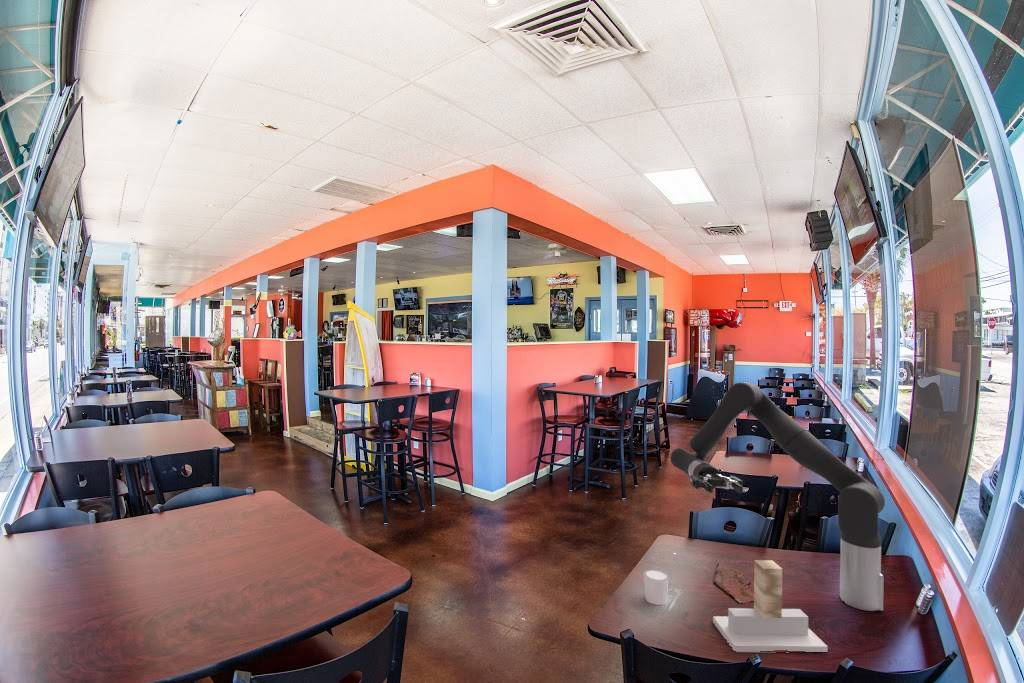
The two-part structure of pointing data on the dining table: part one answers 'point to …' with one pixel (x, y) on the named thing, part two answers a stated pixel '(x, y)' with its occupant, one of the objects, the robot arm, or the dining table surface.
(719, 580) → the wooden fragment
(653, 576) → the white cylinder
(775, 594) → the maple block
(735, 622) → the ridge stand
